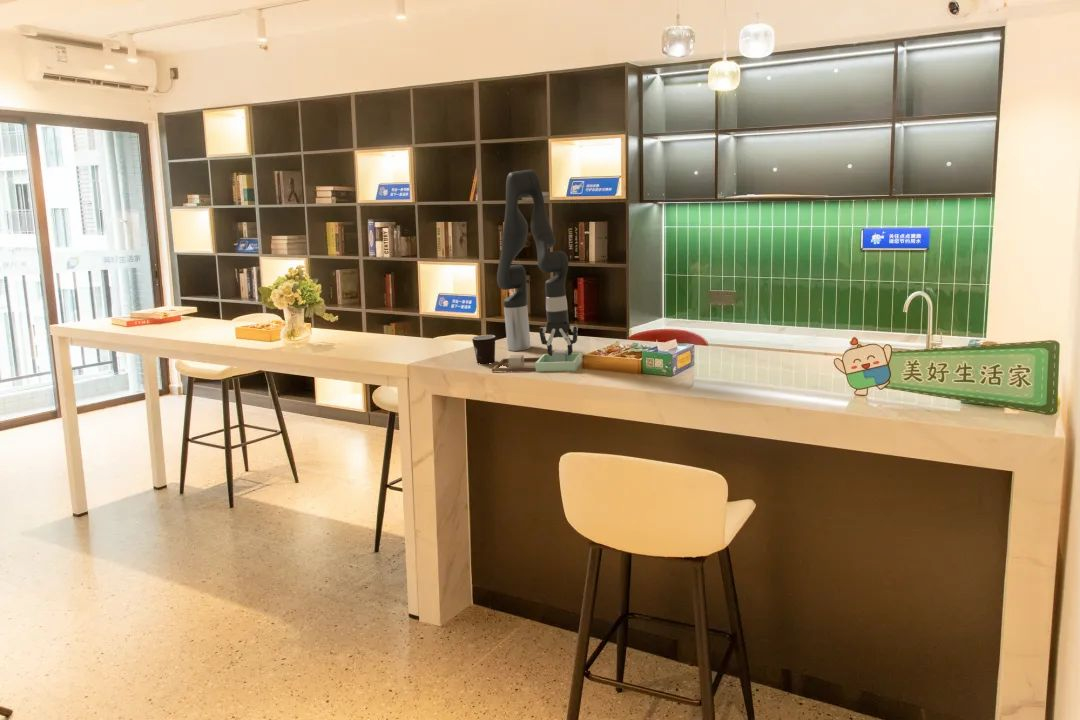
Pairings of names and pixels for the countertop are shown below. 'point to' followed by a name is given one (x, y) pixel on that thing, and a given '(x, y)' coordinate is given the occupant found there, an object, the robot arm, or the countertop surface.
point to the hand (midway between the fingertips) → (560, 355)
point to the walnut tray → (528, 364)
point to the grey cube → (560, 356)
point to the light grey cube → (516, 361)
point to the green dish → (558, 363)
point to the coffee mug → (484, 348)
